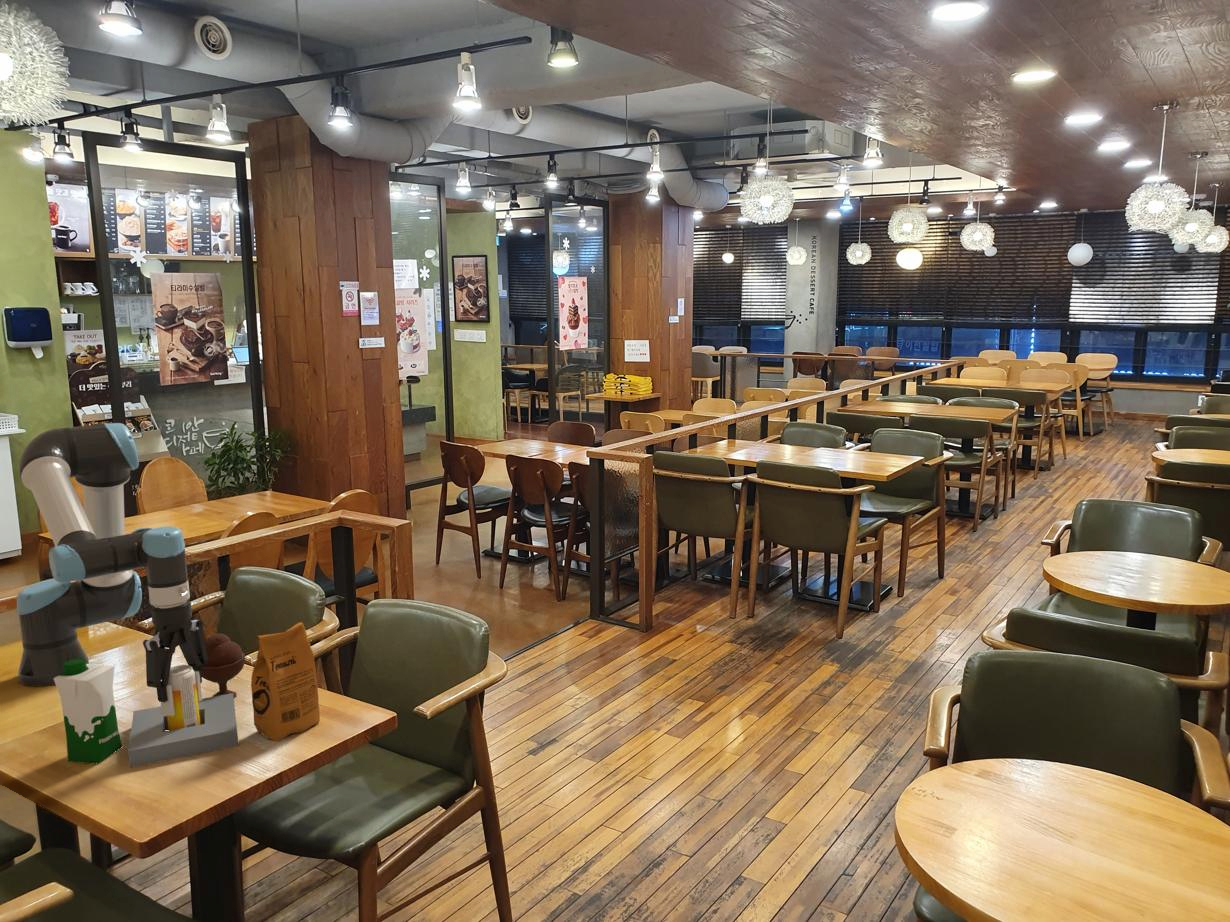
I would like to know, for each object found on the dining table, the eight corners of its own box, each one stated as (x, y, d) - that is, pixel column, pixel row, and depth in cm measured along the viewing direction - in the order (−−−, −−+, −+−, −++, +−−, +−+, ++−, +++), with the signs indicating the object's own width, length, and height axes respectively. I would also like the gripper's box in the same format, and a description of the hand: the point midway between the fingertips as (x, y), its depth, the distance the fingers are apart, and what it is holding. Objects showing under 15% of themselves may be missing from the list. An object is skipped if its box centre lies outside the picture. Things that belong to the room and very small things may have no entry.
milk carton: (92, 743, 194) (80, 652, 190) (130, 746, 192) (118, 654, 188) (60, 763, 185) (46, 669, 182) (99, 767, 184) (86, 672, 180)
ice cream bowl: (188, 706, 210) (181, 643, 208) (219, 686, 221) (213, 626, 218) (228, 709, 208) (222, 646, 205) (258, 689, 219) (252, 629, 216)
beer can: (189, 727, 200) (181, 662, 198) (207, 733, 197) (200, 667, 195) (163, 739, 195) (155, 672, 192) (182, 745, 192) (174, 677, 189)
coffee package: (248, 731, 197) (238, 633, 193) (301, 711, 206) (293, 616, 203) (272, 745, 191) (262, 643, 187) (326, 723, 200) (317, 626, 196)
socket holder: (135, 726, 201) (133, 711, 200) (234, 707, 209) (233, 693, 208) (130, 767, 183) (127, 751, 182) (238, 745, 191) (237, 729, 190)
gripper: (145, 620, 180) (158, 730, 185) (220, 589, 199) (230, 690, 203) (116, 616, 183) (130, 725, 187) (193, 586, 201) (204, 686, 205)
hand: (182, 706), depth 195 cm, fingers open, 7 cm apart
